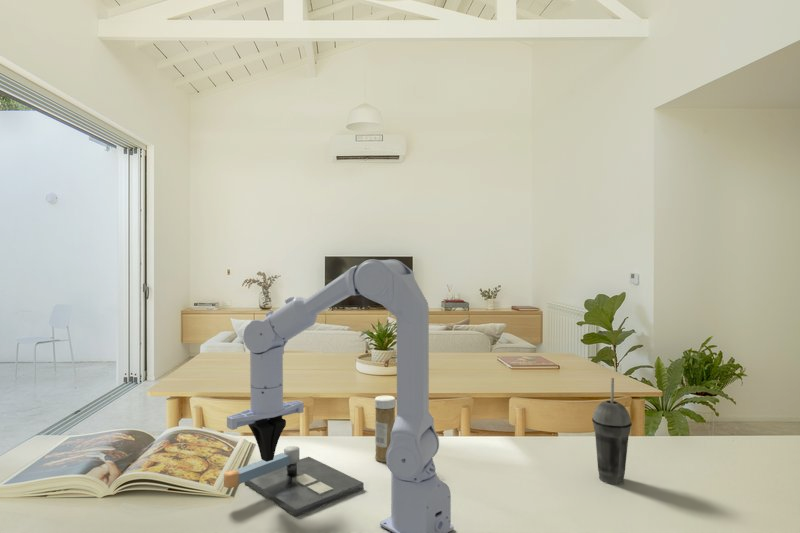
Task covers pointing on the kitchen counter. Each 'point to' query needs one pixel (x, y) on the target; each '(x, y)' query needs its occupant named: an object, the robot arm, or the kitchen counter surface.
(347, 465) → the kitchen counter surface
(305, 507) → the board
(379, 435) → the sprinkles bottle
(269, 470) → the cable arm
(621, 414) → the beverage cup
